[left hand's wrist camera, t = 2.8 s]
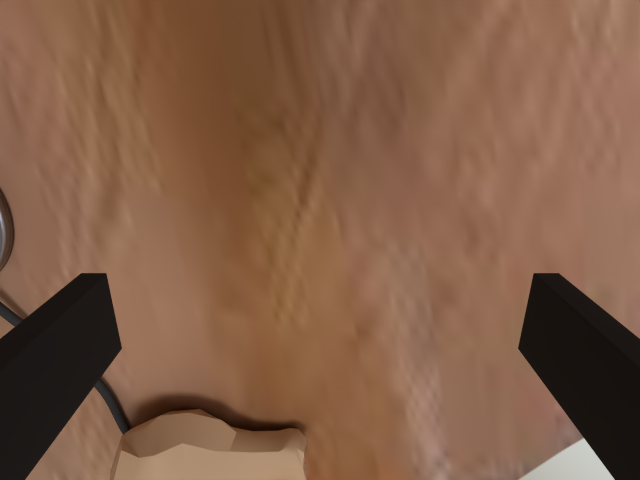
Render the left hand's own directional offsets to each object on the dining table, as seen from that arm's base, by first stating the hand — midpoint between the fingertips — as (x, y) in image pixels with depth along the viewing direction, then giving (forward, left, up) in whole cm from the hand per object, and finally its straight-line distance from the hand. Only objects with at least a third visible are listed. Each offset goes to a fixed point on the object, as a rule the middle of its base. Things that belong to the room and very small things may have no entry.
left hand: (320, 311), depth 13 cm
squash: (+31, -8, -25) cm, 40 cm away
